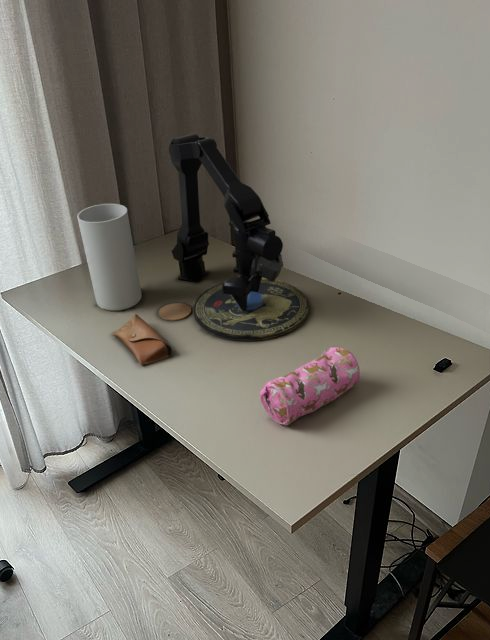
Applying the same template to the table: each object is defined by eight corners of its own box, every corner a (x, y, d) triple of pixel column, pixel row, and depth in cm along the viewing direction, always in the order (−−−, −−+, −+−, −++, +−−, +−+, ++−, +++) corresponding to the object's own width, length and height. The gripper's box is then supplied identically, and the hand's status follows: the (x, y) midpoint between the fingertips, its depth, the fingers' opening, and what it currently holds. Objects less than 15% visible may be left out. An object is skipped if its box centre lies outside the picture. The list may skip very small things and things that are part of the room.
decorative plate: (168, 314, 154) (237, 267, 172) (169, 321, 155) (237, 273, 174) (266, 349, 139) (330, 293, 157) (266, 355, 140) (329, 300, 158)
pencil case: (329, 371, 133) (331, 337, 128) (362, 390, 127) (365, 355, 122) (256, 414, 123) (255, 379, 118) (287, 436, 117) (287, 400, 112)
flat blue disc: (231, 310, 154) (231, 302, 152) (242, 297, 159) (242, 289, 157) (257, 315, 151) (257, 306, 150) (267, 301, 156) (267, 293, 155)
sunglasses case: (109, 333, 151) (118, 309, 149) (133, 337, 156) (142, 314, 154) (141, 366, 139) (150, 340, 137) (166, 369, 143) (175, 344, 141)
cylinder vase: (105, 289, 172) (87, 203, 157) (147, 289, 170) (132, 203, 155) (90, 311, 162) (69, 222, 147) (135, 312, 160) (118, 222, 145)
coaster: (152, 317, 157) (152, 316, 157) (168, 302, 163) (168, 300, 163) (181, 323, 154) (181, 321, 154) (196, 307, 160) (196, 305, 160)
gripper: (263, 267, 135) (265, 327, 145) (291, 235, 149) (291, 291, 158) (219, 261, 140) (223, 319, 149) (249, 230, 153) (252, 285, 162)
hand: (249, 303), depth 154 cm, fingers open, 7 cm apart
